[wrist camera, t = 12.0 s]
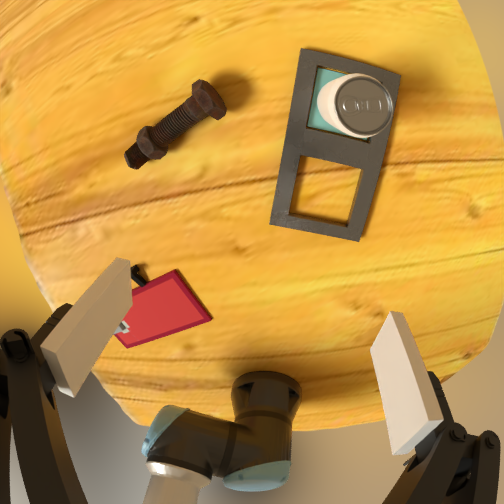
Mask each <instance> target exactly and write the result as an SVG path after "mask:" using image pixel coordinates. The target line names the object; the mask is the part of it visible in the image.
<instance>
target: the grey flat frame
mask: <svg viewBox="0 0 504 504" xmlns="http://www.w3.org/2000/svg"><path fill="white" fill-rule="evenodd" d="M317 66H320V67H324V68H329V69H333V70H337V71H341V72H345V73H349V74H354V73H359V74H365V75H368V76H371V77H373V78H375V79H376V80H378V81H379V82H380V83H381V84H382V85H383V86H384V87H385V88H386V89H387V90H388V92H389V94H390V96H391V98H392V101H393V115H394V110H395V105H396V100H397V95H398V89H399V84H400V78H401V75H398V74H395V73H393V72H390V71H387V70H384V69H381V68H377V67H374V66H371V65H368V64H364V63H361V62H357V61H354V60H350V59H346V58H342V57H339V56H334V55H330V54H326V53H321V52H317V51H312V50H307V49H302V48H301V50H300V56H299V62H298V67H297V73H296V79H295V85H294V90H293V96H292V102H291V108H290V113H289V119H288V124H287V130H286V136H285V141H284V147H283V152H282V158H281V163H280V169H279V174H278V180H277V185H276V190H275V196H274V201H273V207H272V212H271V217H270V223H269V224H270V225H275V226H281V227H286V228H291V229H297V230H302V231H307V232H312V233H317V234H322V235H327V236H332V237H337V238H342V239H347V240H352V241H357V242H359V240H360V237H361V234H362V231H363V228H364V225H365V222H366V218H367V215H368V212H369V208H370V205H371V202H372V198H373V195H374V191H375V188H376V184H377V180H378V177H379V173H380V169H381V165H382V162H383V158H384V154H385V150H386V145H387V141H388V137H389V133H390V128H391V124H392V119H393V115H392V119H391V121H390V123H389V124H388V126H387V127H386V128H385V129H384V130H382V131H381V132H379V133H378V134H376V135H374V136H371V137H369V139H368V143H367V142H364V141H360V140H356V139H352V138H348V137H344V136H340V135H336V134H332V133H327V132H323V131H319V130H314V129H309V128H306V123H307V118H308V112H309V107H310V102H311V96H312V91H313V85H314V79H315V74H316V68H317ZM300 155H304V156H308V157H313V158H318V159H322V160H327V161H331V162H336V163H340V164H344V165H348V166H352V167H356V168H360V169H361V172H360V176H359V180H358V184H357V188H356V191H355V195H354V199H353V202H352V206H351V210H350V213H349V217H348V220H347V224H342V223H338V222H333V221H328V220H323V219H318V218H313V217H308V216H303V215H298V214H293V213H289V208H290V204H291V199H292V194H293V189H294V184H295V179H296V174H297V169H298V164H299V159H300Z"/></svg>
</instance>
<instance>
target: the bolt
mask: <svg viewBox="0 0 504 504" xmlns="http://www.w3.org/2000/svg"><path fill="white" fill-rule="evenodd" d="M226 111H227V108H226V106H225V104H224V102H223V100H222V98H221V97H220V96H219V94H218V93H217V91H216V90H215V89H214V88H213V87H212V86H211V85H210V84H209V83H208V82H207V81H204V80H200V79H199V80H197V81H196V82H195V83H193V84H192V96H191V97H189V98H188V99H187V100H186V101H185V102H184V103H183V104H181V105H180V106H179V107H178V108H176V109H175V110H174V111H172V112H171V113H170V114H168V115H167V116H166V117H165V118H163V120H161V121H160V122H159V123H158V124H156V125H155V126H154V127H152V126H145V127H143V128H142V129H141V130H140V131H139V133H138V135H137V139H136V140H137V141H136V142H135V144H133V145H132V146H131V147H130V148H129V149H128V150H127V151H125V154H124V157H125V160H126V162H127V164H128V166H129V167H130V168H133V169H139V168H140V167H141V166H142V165H144V164H145V163H146V162H147V161H149V160H150V159H161V158H162V157H163V156H165V155H166V153H167V150H168V144H170V143H171V142H172V141H174V140H175V139H176V138H177V137H179V136H180V135H181V134H183V133H184V132H185V131H186V130H188V129H189V128H191V127H192V126H193V125H195V124H196V123H197V122H199V121H200V120H203V119H204V118H206V117H207V116H209V115H210V116H212V117H213V118H215V119H216V120H219V119H221V118H222V117H224V116H225V114H226Z"/></svg>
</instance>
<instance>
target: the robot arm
mask: <svg viewBox="0 0 504 504" xmlns="http://www.w3.org/2000/svg"><path fill="white" fill-rule="evenodd" d="M132 305H133V301H132V287H131V270H130V261H129V260H125V259H121V258H116V259H115V260H114V261H113V262H112V263H111V264H110V265H109V266H108V267H107V269H106V270H105V271H104V272H103V273H102V274H101V275H100V276H99V277H98V278H97V279H96V280H95V282H94V283H93V284H92V285H91V286H90V287H89V288H88V289H87V290H86V292H85V293H84V294H83V295H82V296H81V297H80V298H79V300H78V301H77V302H76V303H75V304H74V305H71V304H68V303H66V304H64V305H62V306H61V307H59V308H57V309H56V311H55V312H54V313H53V314H52V315H51V317H49V318H48V320H47V321H46V323H44V324H43V325H42V327H41V328H40V329H39V330H38V331H37V333H36V334H35V335H34V336H33V337H32V339H31V340H30V339H29V336H28V334H27V333H26V332H25V331H24V330H22V329H12V330H9V331H7V332H6V333H5V334H4V335H3V336H2V337H1V339H0V345H1V347H2V349H3V350H1V349H0V504H11V502H10V477H9V476H10V474H9V472H10V469H9V468H10V440H11V426H12V427H13V433H14V440H15V445H16V451H17V455H18V460H19V465H20V469H21V473H22V477H23V481H24V485H25V488H26V492H27V495H28V499H29V502H30V504H88V502H87V500H86V497H85V495H84V492H83V490H82V488H81V485H80V482H79V480H78V477H77V474H76V472H75V469H74V466H73V463H72V460H71V457H70V454H69V451H68V447H67V444H66V440H65V437H64V433H63V430H62V426H61V422H60V418H59V414H58V410H57V405H56V401H55V396H54V393H53V390H52V388H53V387H54V385H55V384H57V386H58V388H59V390H60V391H61V392H63V393H65V394H67V395H70V396H72V397H75V396H76V394H77V392H78V391H79V389H80V387H81V385H82V384H83V382H84V381H85V379H86V377H87V376H88V374H89V372H90V371H91V369H92V367H93V366H94V364H95V362H96V361H97V359H98V358H99V356H100V354H101V353H102V351H103V349H104V348H105V346H106V345H107V343H108V342H109V340H110V338H111V337H112V335H113V334H114V332H115V331H116V329H117V328H118V326H119V324H120V323H121V321H122V320H123V318H124V317H125V315H126V314H127V312H128V311H129V309H130V308H131V306H132ZM370 352H371V356H372V360H373V364H374V368H375V372H376V377H377V381H378V385H379V390H380V394H381V399H382V403H383V408H384V413H385V417H386V422H387V427H388V432H389V438H390V444H391V449H392V455H399V454H407V453H409V452H410V451H411V450H412V449H413V448H414V447H415V451H416V454H415V455H413V456H412V457H411V458H410V459H409V460H407V461H406V462H405V463H404V464H403V465H404V466H405V465H407V464H408V465H407V467H406V468H405V470H404V472H403V473H402V475H401V476H400V478H399V480H398V481H397V483H396V484H395V486H394V487H393V489H392V490H391V492H390V493H389V494H388V496H387V498H386V499H385V500H384V502H383V503H382V504H496V499H497V490H498V481H499V466H500V440H499V438H498V436H497V435H496V434H495V433H494V432H493V431H490V430H487V431H484V432H483V433H482V434H481V435H480V436H474V435H470V434H467V432H466V430H465V428H464V427H463V426H462V425H460V424H458V423H454V420H453V417H452V415H451V411H450V409H449V406H448V403H447V400H446V397H444V396H445V395H444V392H443V390H442V387H441V384H440V381H439V379H438V378H437V377H436V375H435V374H434V373H433V372H432V371H427V370H426V368H425V365H424V362H423V360H422V357H421V355H420V352H419V350H418V348H417V345H416V343H415V340H414V338H413V336H412V333H411V331H410V329H409V326H408V324H407V322H406V319H405V317H404V315H403V313H400V312H393V311H390V312H389V314H388V316H387V318H386V320H385V322H384V324H383V326H382V328H381V330H380V332H379V334H378V336H377V337H376V339H375V341H374V343H373V345H372V347H371V348H370ZM231 400H232V405H233V410H234V415H235V421H234V422H231V421H227V420H223V419H219V418H216V417H212V416H209V415H205V414H202V413H199V412H196V411H192V410H190V409H189V408H186V409H185V408H181V407H177V406H174V405H167V406H164V407H163V408H162V409H161V410H160V411H159V412H158V414H157V415H156V417H155V419H154V420H153V422H152V424H151V426H150V428H149V430H148V433H147V435H146V438H145V441H144V442H143V445H142V454H143V455H145V457H148V459H147V462H146V466H147V468H148V469H149V471H150V473H151V478H150V482H149V485H148V488H147V491H146V495H145V498H144V501H143V504H197V500H198V496H199V491H200V489H201V488H203V487H205V486H206V485H208V484H210V482H211V478H212V476H217V477H222V478H223V480H222V481H223V484H224V486H226V487H227V488H231V489H234V490H239V491H264V490H271V489H275V488H278V487H280V486H282V485H284V484H285V483H286V482H287V480H288V478H289V470H290V466H291V442H292V422H293V419H294V417H295V415H296V412H297V410H298V408H299V405H300V403H301V388H300V386H299V384H298V383H297V382H296V381H295V380H293V379H292V378H290V377H288V376H286V375H283V374H280V373H276V372H268V371H259V372H251V373H248V374H245V375H242V376H241V377H239V378H238V379H236V380H235V382H234V383H233V386H232V391H231ZM470 473H471V474H470Z"/></svg>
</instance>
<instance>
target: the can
mask: <svg viewBox="0 0 504 504" xmlns="http://www.w3.org/2000/svg"><path fill="white" fill-rule="evenodd" d="M317 106H318V110H319V112H320V114H321V116H322V118H323V119H324V120H325V121H326V122H327V123H329V124H330V125H332V126H333V127H335V128H337V129H338V130H340V131H342V132H344V133H346V134H348V135H350V136H353V137H359V138H366V137H371V136H374V135H376V134H378V133H379V132H381V131H382V130H384V129H385V128H386V127H387V126H388V124H389V123H390V121H391V119H392V115H393V101H392V98H391V96H390V94H389V92H388V90H387V89H386V88H385V87H384V86H383V85H382V84H381V83H380V82H379V81H378V80H376V79H375V78H373V77H371V76H368V75H365V74H359V73H354V74H348V75H345V76H342V77H340V78H337V79H335V80H332V81H330V82H328V83H327V84H326V85H324V86H323V87H322V89H321V90H320V92H319V94H318V97H317Z"/></svg>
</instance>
